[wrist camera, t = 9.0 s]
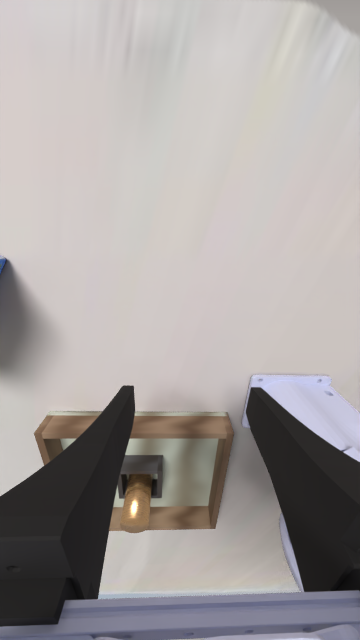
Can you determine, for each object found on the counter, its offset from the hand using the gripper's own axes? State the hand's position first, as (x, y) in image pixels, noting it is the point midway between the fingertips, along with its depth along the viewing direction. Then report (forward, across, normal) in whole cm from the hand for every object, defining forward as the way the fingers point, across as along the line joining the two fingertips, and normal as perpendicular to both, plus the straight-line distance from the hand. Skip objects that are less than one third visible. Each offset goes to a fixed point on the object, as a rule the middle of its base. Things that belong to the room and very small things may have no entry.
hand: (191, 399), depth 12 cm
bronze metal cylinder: (+9, +5, +21) cm, 23 cm away
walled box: (+9, +5, +21) cm, 24 cm away
